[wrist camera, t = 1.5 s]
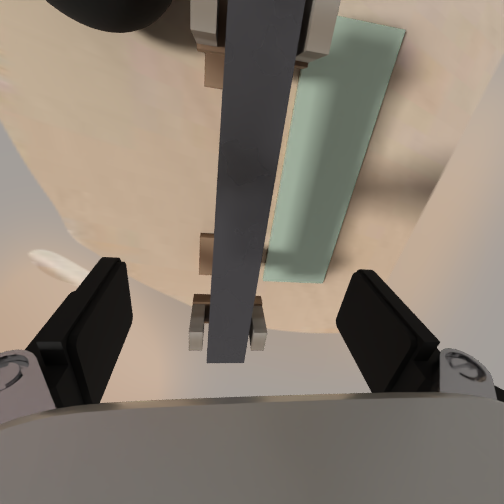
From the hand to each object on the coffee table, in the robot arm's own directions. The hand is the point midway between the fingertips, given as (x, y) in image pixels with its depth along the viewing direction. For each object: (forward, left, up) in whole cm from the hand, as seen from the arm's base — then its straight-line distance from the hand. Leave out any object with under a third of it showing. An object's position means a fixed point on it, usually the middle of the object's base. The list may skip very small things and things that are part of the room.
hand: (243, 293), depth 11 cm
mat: (-1, +9, -18) cm, 20 cm away
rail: (-1, 0, -8) cm, 8 cm away
